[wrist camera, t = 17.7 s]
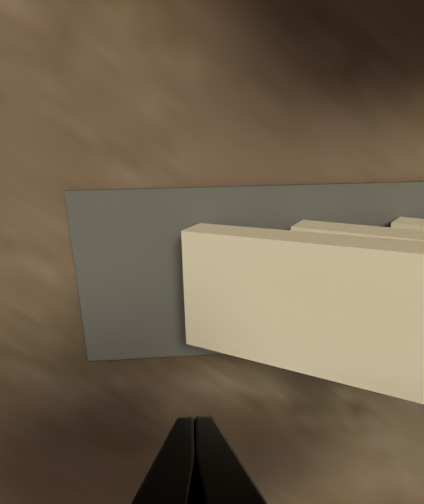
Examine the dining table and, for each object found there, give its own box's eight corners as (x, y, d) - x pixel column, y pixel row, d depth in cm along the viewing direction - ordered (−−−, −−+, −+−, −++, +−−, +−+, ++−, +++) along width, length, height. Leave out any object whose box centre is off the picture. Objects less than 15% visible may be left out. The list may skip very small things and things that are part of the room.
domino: (199, 222, 15) (488, 246, 11) (202, 326, 16) (457, 384, 12) (181, 230, 13) (504, 262, 9) (186, 343, 15) (467, 415, 11)
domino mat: (606, 328, 18) (613, 331, 18) (89, 357, 16) (88, 361, 16) (660, 175, 16) (669, 175, 16) (66, 190, 14) (64, 191, 14)
